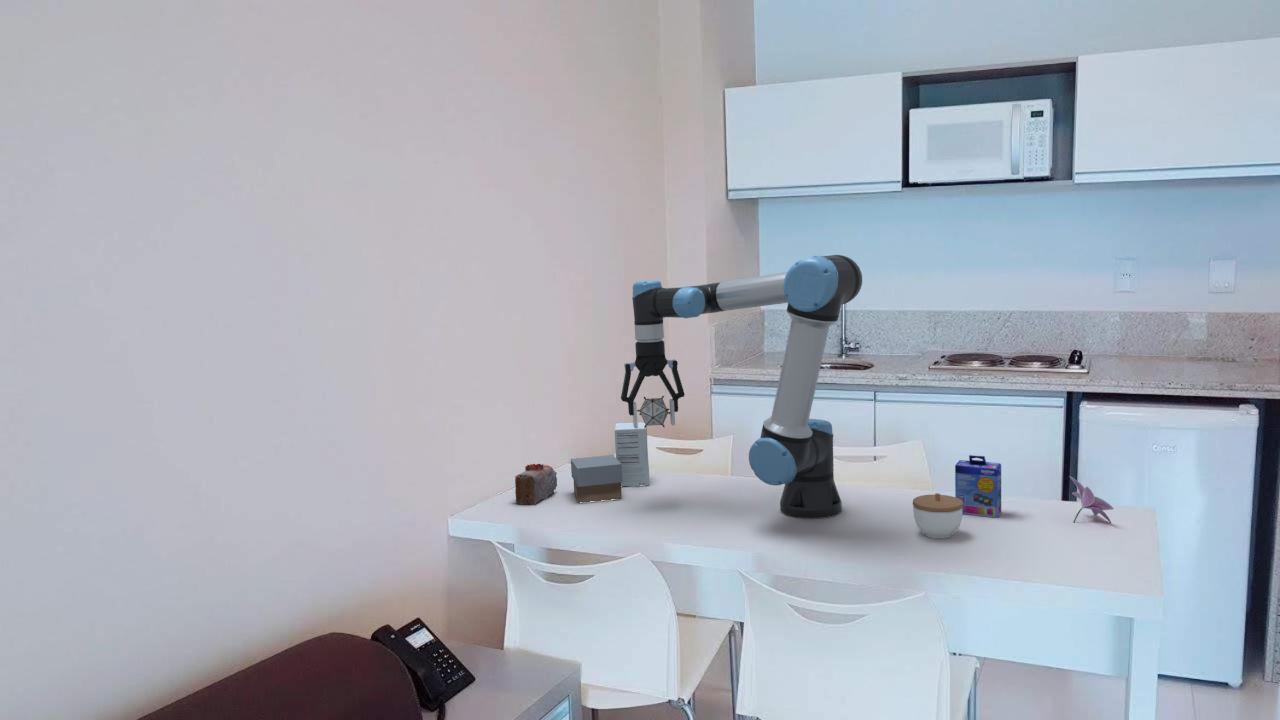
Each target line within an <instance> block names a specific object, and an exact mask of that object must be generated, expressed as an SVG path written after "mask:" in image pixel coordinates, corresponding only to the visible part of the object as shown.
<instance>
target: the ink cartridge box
mask: <svg viewBox="0 0 1280 720" xmlns="http://www.w3.org/2000/svg"><path fill="white" fill-rule="evenodd" d="M978 459H980V460H978ZM954 469H955V470H954V471H955V472H954V473H955V474H954V483H955V486H954V487H955V488H954V489H955V490H954V492H955V494H954V497H956V498H959V499H960V500H962V501H963V507H962V515H966V516H967V515H968V516H978V517H984V518H985V517H986V518H993V519H995V518H996V519H997V518H998V517H999V516H1000V515H1001V514H1002V512H1003V511H1002V463H1000V462H989V461H987V460H986V456H984V455H971V454H970V455H968V460H966V459H965V460H960V459H959V460H958V462H957V463H955V465H954Z"/></svg>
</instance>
